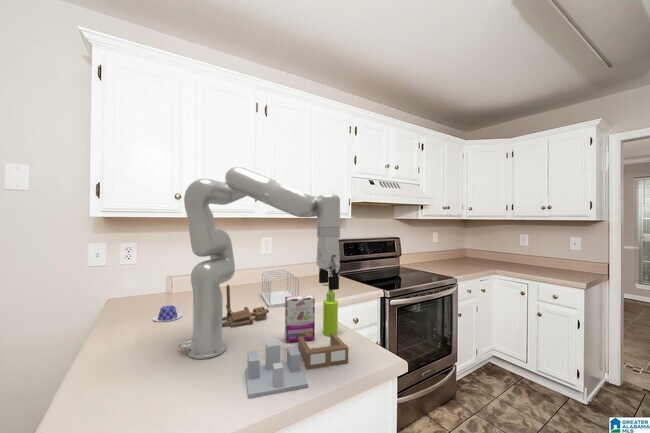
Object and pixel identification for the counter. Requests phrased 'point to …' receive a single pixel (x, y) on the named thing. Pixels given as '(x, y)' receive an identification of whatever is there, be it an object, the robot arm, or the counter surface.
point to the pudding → (167, 314)
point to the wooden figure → (242, 314)
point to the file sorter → (278, 296)
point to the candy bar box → (299, 318)
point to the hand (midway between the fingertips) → (328, 286)
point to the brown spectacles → (323, 353)
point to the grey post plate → (274, 371)
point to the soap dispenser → (330, 314)
